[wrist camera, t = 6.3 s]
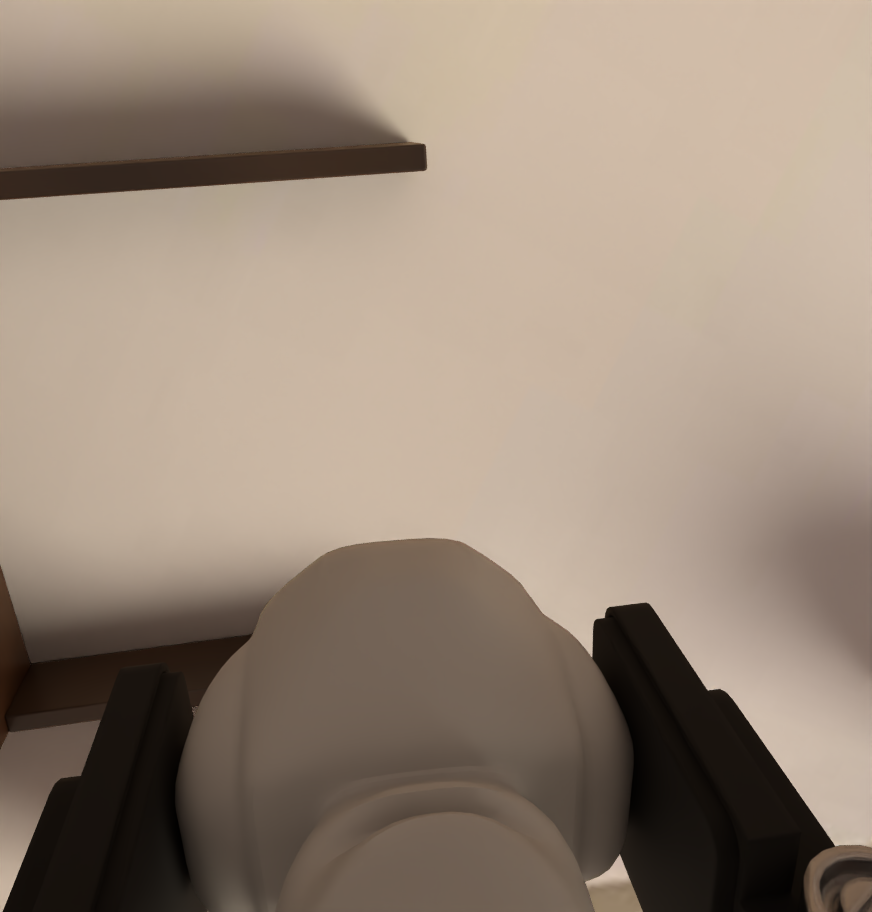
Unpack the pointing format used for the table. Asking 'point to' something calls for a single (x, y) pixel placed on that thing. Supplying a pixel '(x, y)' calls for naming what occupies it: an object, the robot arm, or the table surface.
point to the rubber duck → (404, 747)
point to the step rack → (3, 651)
